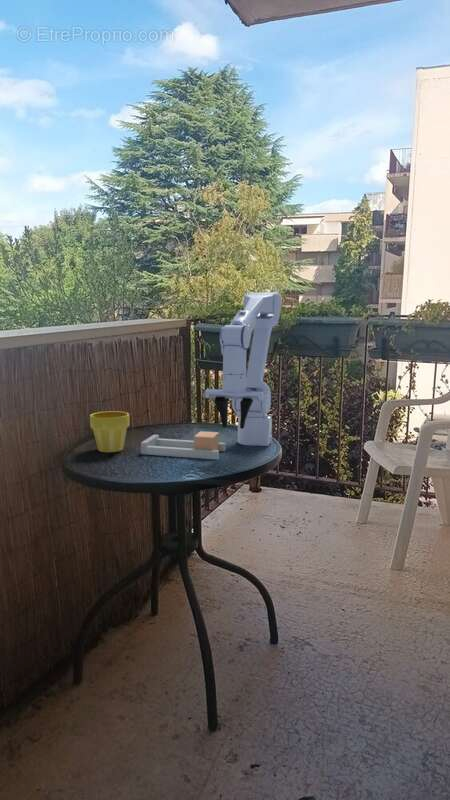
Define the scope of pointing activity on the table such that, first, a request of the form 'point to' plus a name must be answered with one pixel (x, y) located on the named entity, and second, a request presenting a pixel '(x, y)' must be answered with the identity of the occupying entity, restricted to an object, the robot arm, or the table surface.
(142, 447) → the chute
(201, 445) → the block
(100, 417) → the plant pot
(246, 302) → the robot arm
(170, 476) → the table surface
